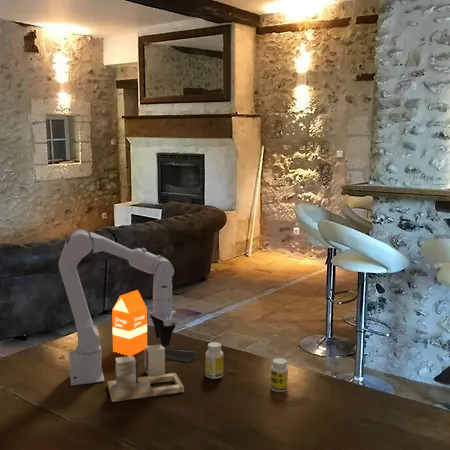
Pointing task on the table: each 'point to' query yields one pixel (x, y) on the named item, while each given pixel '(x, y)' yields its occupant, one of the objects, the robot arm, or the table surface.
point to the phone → (180, 354)
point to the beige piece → (139, 382)
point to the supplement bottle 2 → (279, 375)
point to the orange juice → (129, 324)
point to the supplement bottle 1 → (214, 361)
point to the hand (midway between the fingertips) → (162, 341)
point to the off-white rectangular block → (154, 360)
